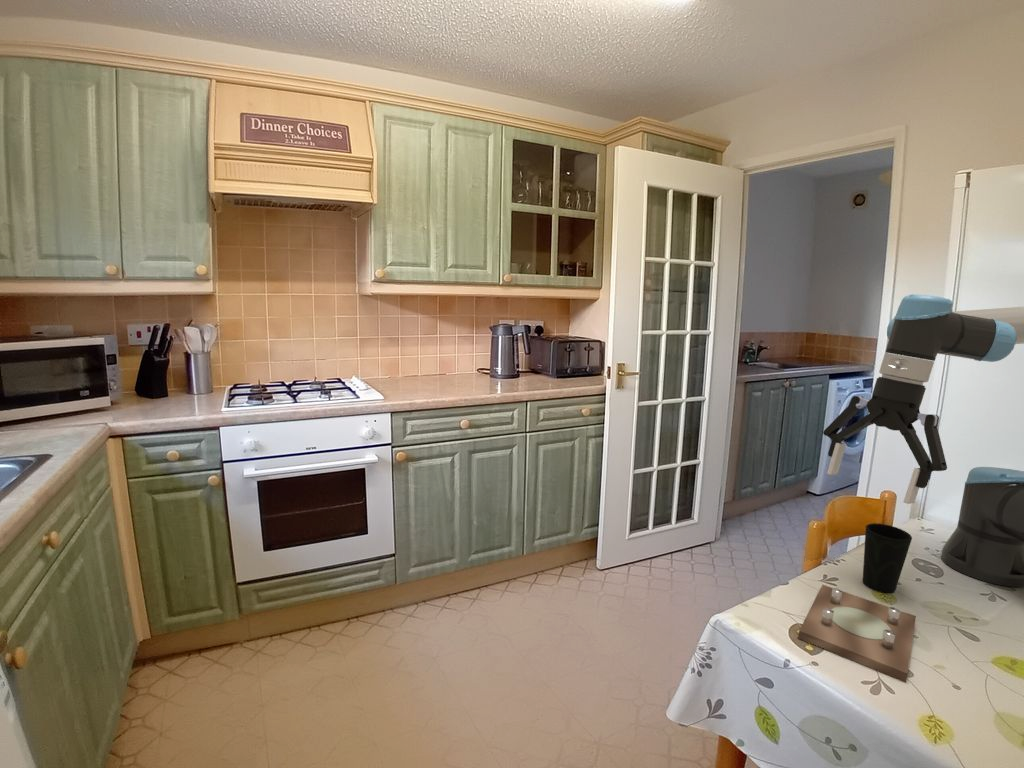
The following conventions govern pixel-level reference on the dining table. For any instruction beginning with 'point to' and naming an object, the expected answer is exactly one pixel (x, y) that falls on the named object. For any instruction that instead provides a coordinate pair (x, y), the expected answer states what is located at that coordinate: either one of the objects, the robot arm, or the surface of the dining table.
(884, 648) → the stub board
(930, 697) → the dining table surface
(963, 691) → the dining table surface
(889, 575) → the cup
